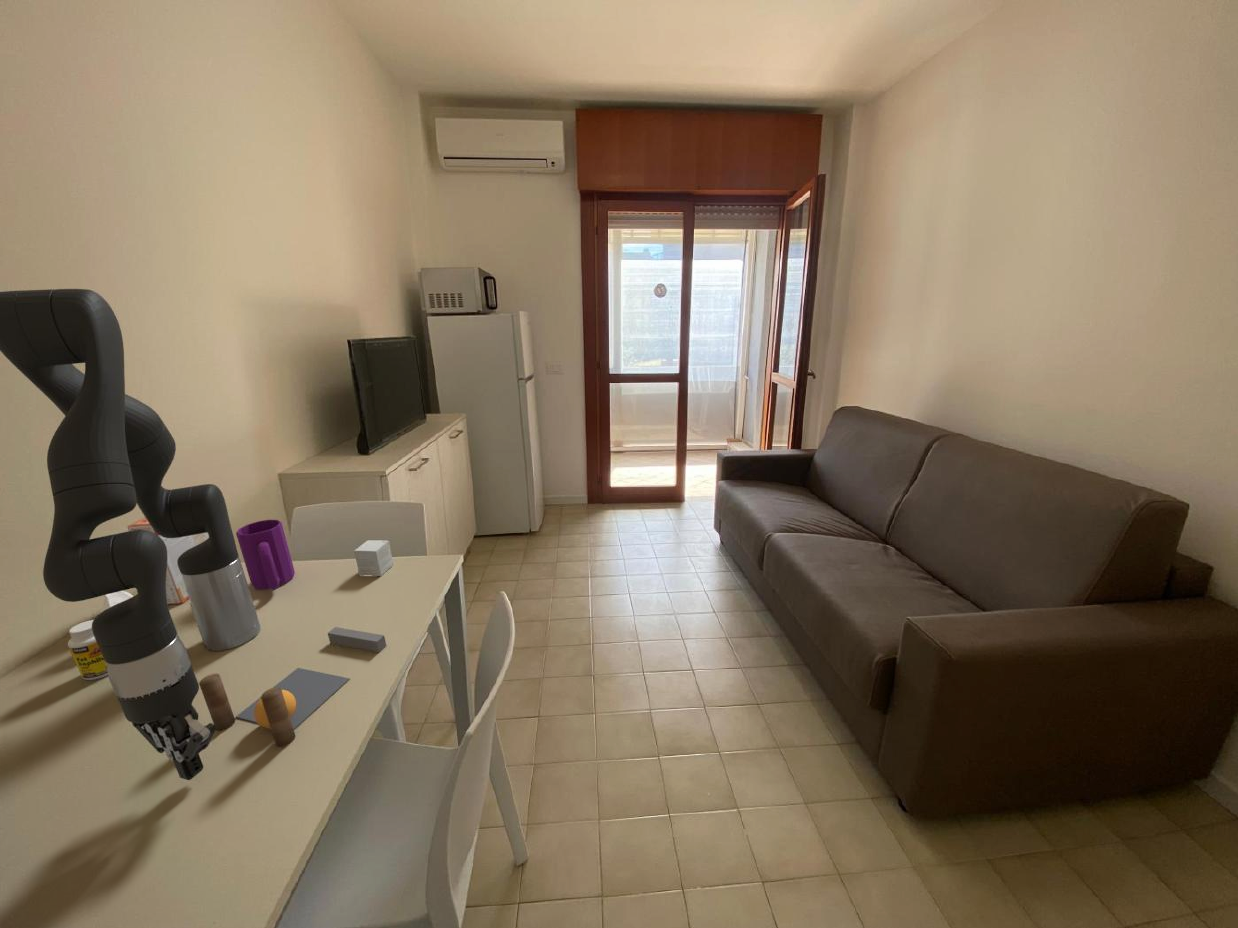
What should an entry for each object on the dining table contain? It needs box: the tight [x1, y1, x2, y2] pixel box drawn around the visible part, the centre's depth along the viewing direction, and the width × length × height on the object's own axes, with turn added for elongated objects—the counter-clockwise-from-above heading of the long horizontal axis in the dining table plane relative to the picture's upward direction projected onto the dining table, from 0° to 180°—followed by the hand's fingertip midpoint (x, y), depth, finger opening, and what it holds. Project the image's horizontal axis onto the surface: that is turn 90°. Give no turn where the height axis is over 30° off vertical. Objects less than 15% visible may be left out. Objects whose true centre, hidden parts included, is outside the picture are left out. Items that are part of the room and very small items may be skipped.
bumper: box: [327, 626, 387, 653], centre depth 99 cm, size 12×2×2 cm, turn 74°
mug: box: [235, 519, 296, 591], centre depth 120 cm, size 9×16×15 cm, turn 38°
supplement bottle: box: [67, 619, 108, 681], centre depth 93 cm, size 6×6×10 cm
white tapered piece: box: [99, 590, 134, 614], centre depth 103 cm, size 6×12×6 cm
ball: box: [254, 690, 296, 729], centre depth 80 cm, size 6×6×6 cm
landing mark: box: [235, 667, 351, 731], centre depth 86 cm, size 12×12×1 cm
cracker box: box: [126, 516, 209, 606], centre depth 119 cm, size 14×6×21 cm, turn 5°
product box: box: [353, 539, 394, 577], centre depth 127 cm, size 6×6×7 cm
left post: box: [198, 673, 236, 732], centre depth 80 cm, size 3×3×9 cm
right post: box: [260, 687, 296, 748], centre depth 76 cm, size 3×3×9 cm
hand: (192, 773), depth 71 cm, fingers closed
